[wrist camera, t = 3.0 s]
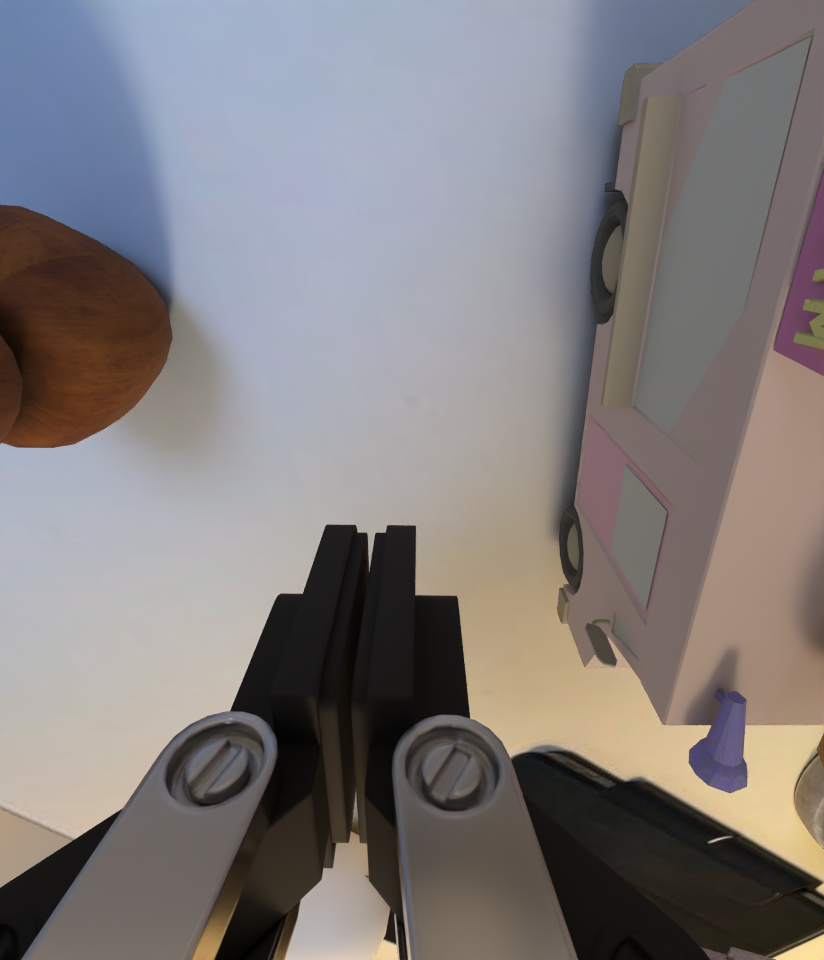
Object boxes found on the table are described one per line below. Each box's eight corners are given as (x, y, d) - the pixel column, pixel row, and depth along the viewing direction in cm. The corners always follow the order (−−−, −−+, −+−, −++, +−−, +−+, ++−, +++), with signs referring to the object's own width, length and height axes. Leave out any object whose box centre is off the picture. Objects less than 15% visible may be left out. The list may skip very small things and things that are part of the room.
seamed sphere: (273, 856, 35) (238, 1001, 29) (297, 792, 32) (265, 938, 26) (411, 885, 37) (408, 1030, 30) (447, 826, 33) (453, 973, 27)
